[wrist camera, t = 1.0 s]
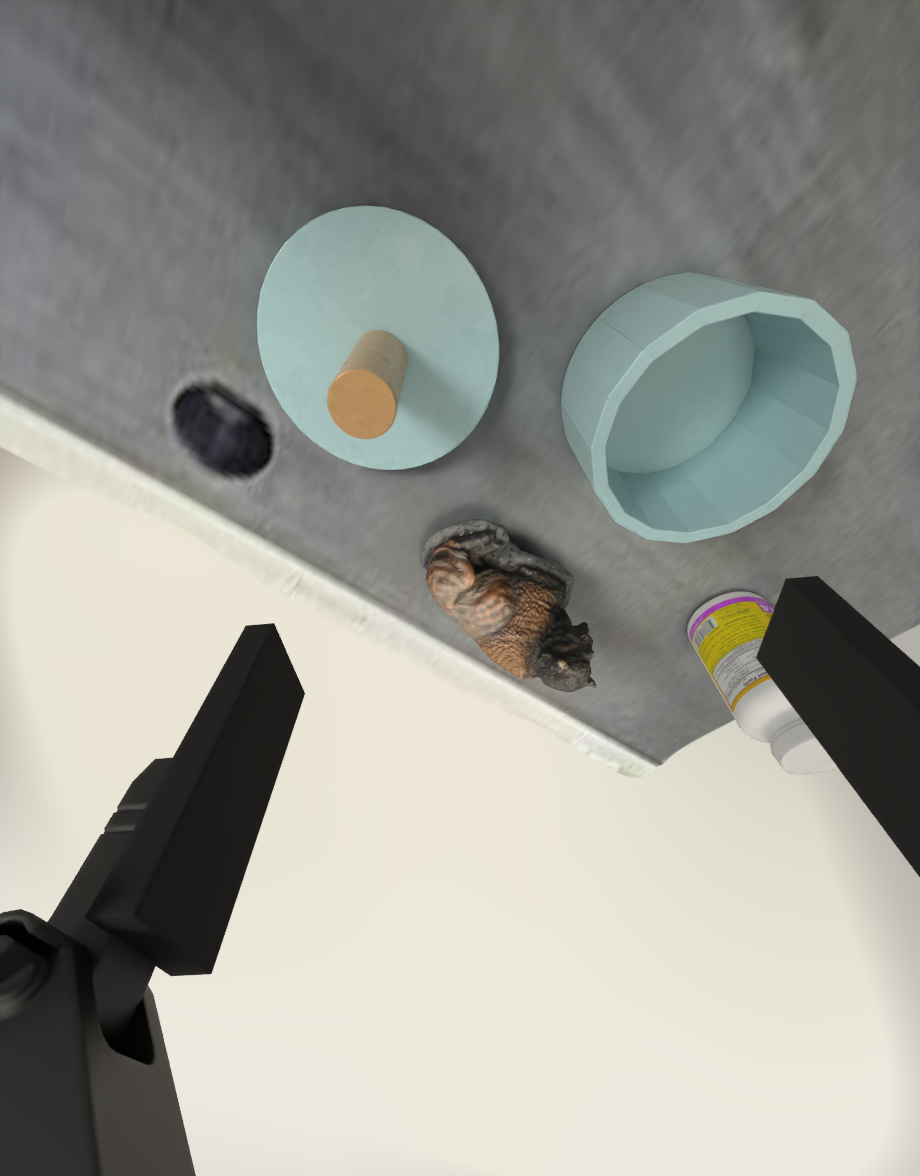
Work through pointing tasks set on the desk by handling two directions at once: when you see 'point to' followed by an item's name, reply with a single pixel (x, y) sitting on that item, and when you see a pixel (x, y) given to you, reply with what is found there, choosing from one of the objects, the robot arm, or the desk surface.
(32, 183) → the desk surface
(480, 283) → the lid
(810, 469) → the bowl
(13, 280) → the desk surface
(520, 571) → the brown striped lumpy figure
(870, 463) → the desk surface
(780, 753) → the supplement bottle
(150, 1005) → the robot arm
